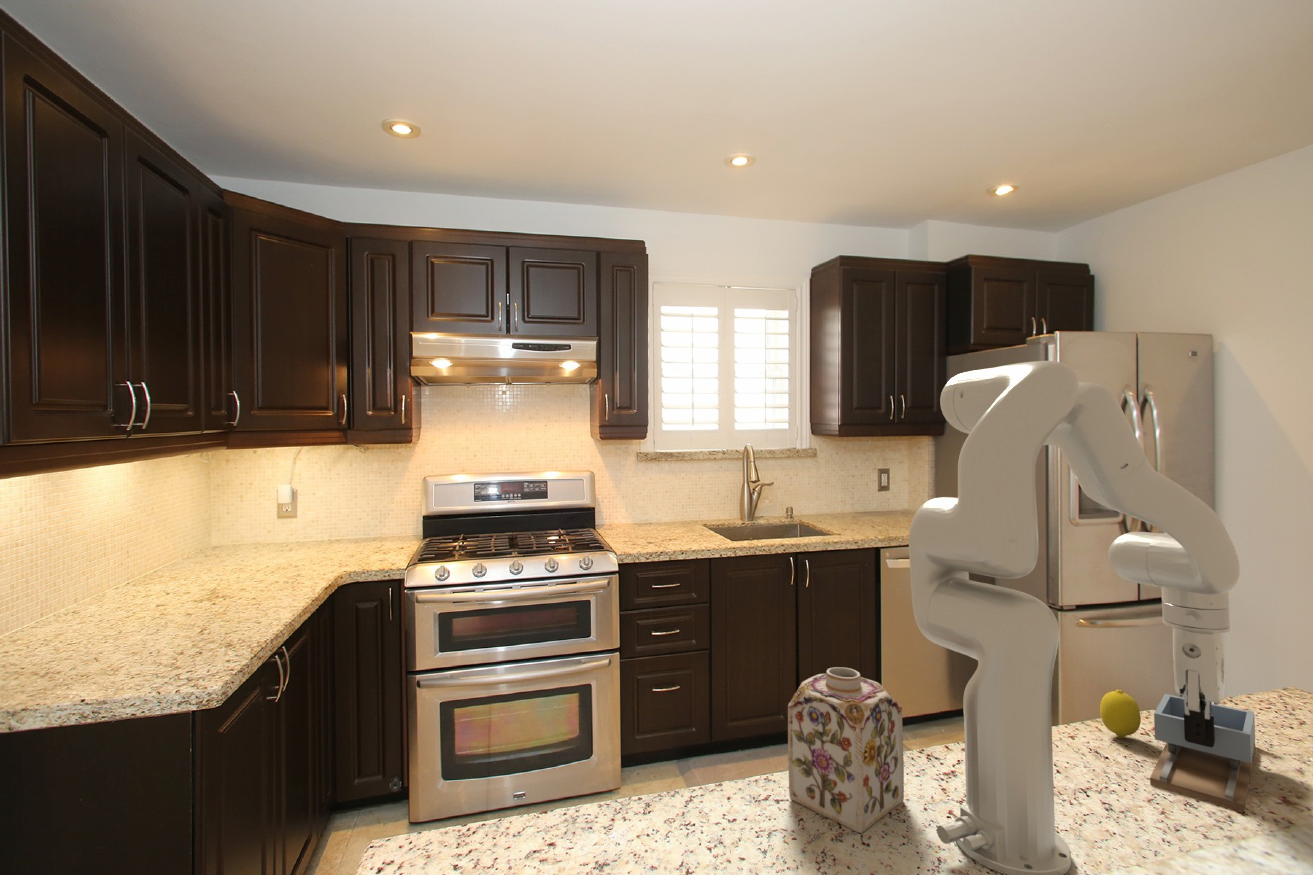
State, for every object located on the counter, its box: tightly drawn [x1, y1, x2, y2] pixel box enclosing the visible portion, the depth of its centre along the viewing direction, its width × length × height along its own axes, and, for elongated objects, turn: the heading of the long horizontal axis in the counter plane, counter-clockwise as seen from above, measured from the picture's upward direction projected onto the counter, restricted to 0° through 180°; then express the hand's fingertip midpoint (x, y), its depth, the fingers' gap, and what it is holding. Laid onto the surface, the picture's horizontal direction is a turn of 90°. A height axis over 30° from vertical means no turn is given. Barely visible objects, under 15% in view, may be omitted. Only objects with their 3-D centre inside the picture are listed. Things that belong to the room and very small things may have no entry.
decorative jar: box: [787, 666, 905, 834], centre depth 89 cm, size 12×12×18 cm
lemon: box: [1099, 689, 1142, 739], centre depth 106 cm, size 6×6×8 cm
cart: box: [1153, 693, 1256, 770], centre depth 97 cm, size 11×11×6 cm
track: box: [1149, 742, 1256, 813], centre depth 97 cm, size 26×10×4 cm, turn 134°
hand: (1199, 742), depth 92 cm, fingers closed
